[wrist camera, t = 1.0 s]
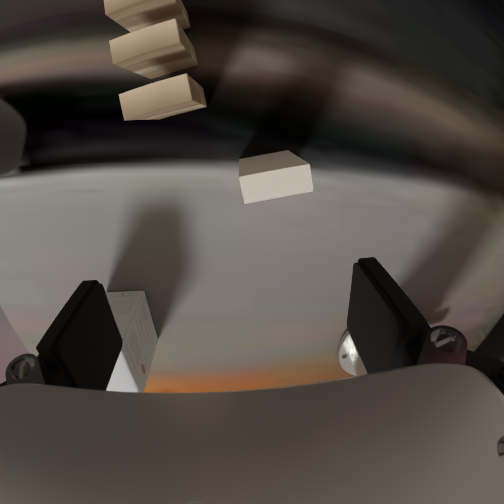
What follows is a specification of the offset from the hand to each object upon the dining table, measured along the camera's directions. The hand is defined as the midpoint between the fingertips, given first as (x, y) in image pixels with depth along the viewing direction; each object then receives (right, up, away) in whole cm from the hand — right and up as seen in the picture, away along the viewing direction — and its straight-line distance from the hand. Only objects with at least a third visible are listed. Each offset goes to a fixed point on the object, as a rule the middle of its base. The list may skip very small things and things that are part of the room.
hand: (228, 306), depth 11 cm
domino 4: (+2, +11, +19) cm, 22 cm away
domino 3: (-6, +17, +17) cm, 24 cm away
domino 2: (-7, +21, +15) cm, 26 cm away
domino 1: (-8, +25, +13) cm, 29 cm away
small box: (-15, -6, +27) cm, 31 cm away
